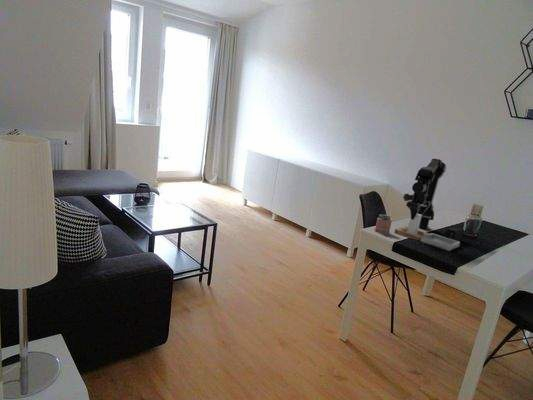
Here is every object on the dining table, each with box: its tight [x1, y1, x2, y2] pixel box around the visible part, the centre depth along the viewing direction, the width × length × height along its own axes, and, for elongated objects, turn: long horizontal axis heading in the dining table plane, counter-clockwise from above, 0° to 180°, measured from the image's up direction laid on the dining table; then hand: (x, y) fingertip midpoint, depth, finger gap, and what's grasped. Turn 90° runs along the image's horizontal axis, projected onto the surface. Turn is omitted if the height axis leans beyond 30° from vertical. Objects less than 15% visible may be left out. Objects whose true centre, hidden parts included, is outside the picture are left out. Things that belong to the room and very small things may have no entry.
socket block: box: [394, 226, 430, 241], centre depth 208 cm, size 14×14×2 cm
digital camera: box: [444, 226, 465, 242], centre depth 208 cm, size 10×5×7 cm, turn 128°
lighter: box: [374, 213, 393, 235], centre depth 205 cm, size 8×3×10 cm, turn 84°
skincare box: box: [406, 214, 422, 236], centre depth 207 cm, size 6×4×12 cm
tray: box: [420, 232, 461, 252], centre depth 198 cm, size 15×15×3 cm
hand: (415, 218), depth 206 cm, fingers open, 8 cm apart
